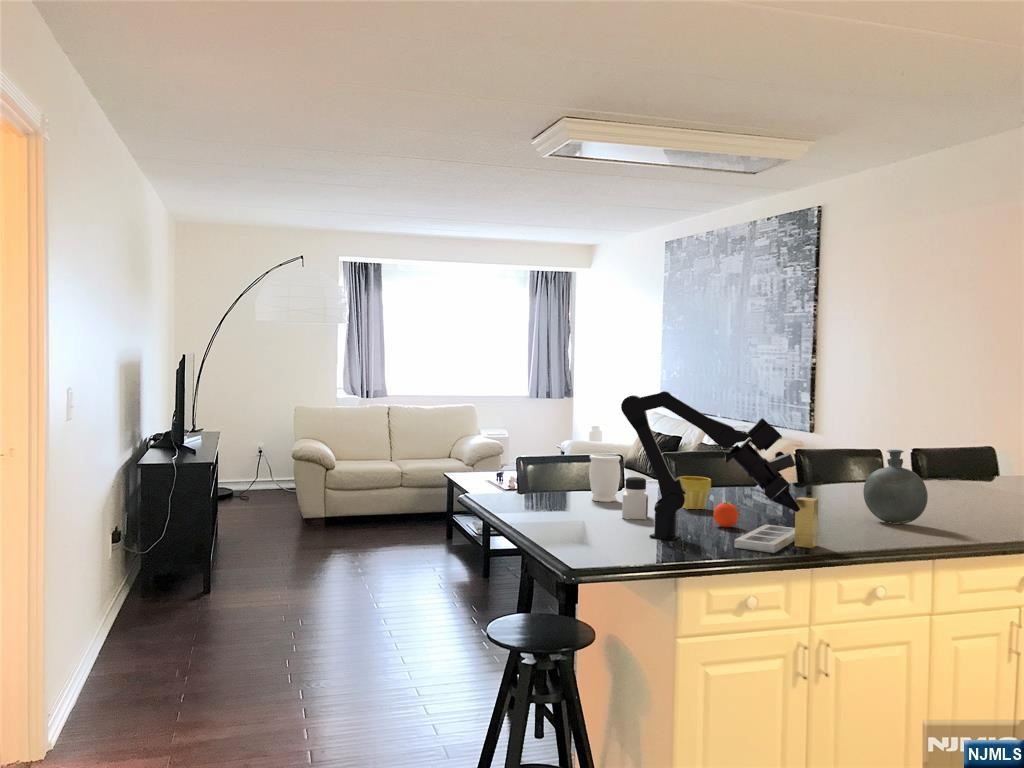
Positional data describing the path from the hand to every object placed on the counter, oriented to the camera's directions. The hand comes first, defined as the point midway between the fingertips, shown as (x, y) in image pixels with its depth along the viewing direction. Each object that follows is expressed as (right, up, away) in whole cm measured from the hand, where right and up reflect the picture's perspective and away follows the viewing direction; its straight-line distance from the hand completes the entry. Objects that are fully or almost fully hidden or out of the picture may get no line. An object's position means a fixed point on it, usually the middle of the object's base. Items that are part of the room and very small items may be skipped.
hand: (796, 507), depth 218 cm
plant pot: (-15, -8, +54) cm, 57 cm away
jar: (-42, -7, +67) cm, 79 cm away
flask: (+40, -10, +34) cm, 53 cm away
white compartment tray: (-6, -9, +4) cm, 12 cm away
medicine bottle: (-36, -8, +36) cm, 52 cm away
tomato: (-12, -9, +23) cm, 28 cm away
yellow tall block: (+2, -10, 0) cm, 10 cm away
